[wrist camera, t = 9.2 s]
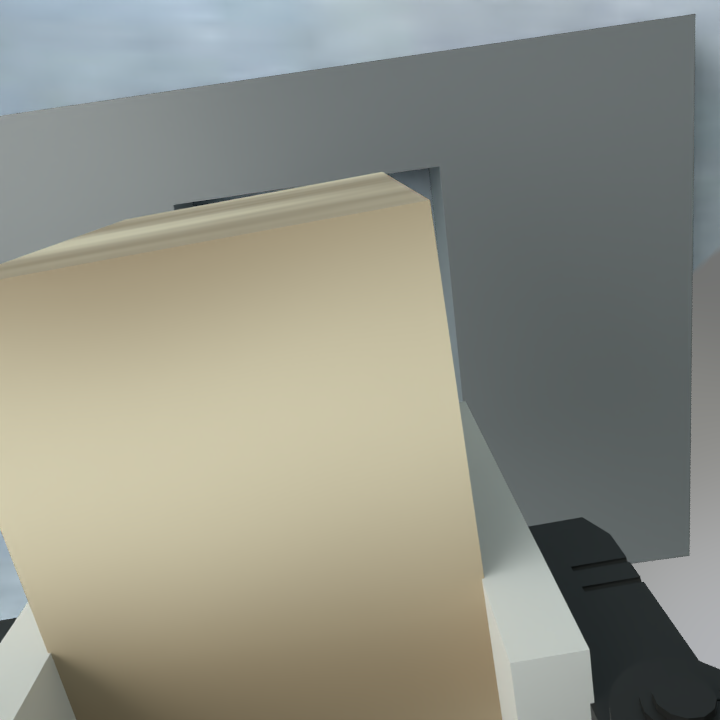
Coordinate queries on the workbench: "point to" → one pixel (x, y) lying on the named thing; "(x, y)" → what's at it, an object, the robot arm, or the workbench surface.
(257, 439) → the key block
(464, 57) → the mount plate
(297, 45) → the workbench surface
